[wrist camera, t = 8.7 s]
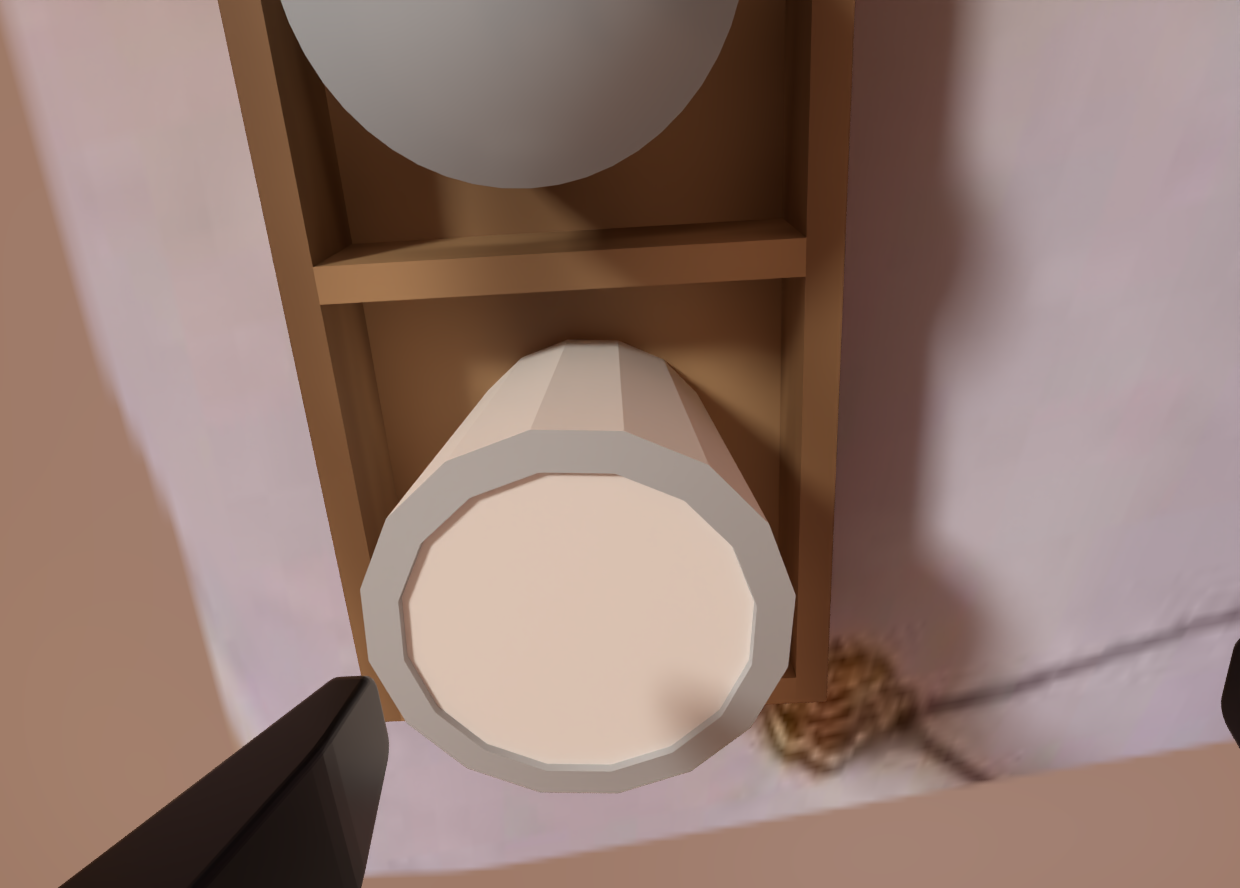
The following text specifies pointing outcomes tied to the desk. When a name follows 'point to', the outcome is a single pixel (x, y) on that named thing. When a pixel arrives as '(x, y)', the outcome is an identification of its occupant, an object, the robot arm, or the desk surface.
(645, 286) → the rack
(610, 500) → the shot glass
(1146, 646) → the desk surface
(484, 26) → the white rounded cylinder
